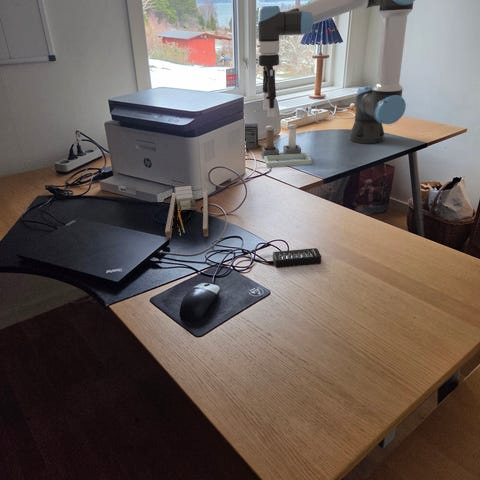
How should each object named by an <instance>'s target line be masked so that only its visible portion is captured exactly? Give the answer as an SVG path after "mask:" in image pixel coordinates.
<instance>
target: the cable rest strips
mask: <svg viewBox="0 0 480 480" xmlns="http://www.w3.org/2000/svg"><path fill="white" fill-rule="evenodd" d="M204 191H205V192H204ZM204 191H203V204H202V206H203V208H202V209H203V210H202V211H203V212H202V213H203V215H202V217H203V218H202V231H203V238H204V237H209V194H208V193H209V191H208V190H204ZM176 201H177V199H176V192H172V194H171V200H170V205H169V209H168V214H167V220H166V224H165V230H164V232H165V238H166V237H168V238H170V239H169V240H172V233H173V228H172V226H174V222H173V218H174V219H175V216H174V212H175V213H176V209H175V205H176V206H177V203H176Z"/></svg>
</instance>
